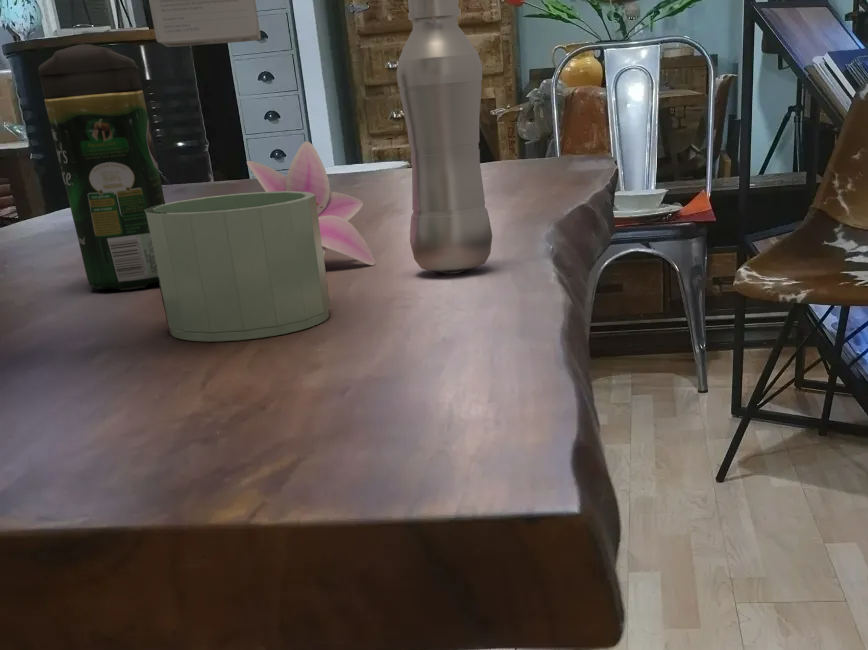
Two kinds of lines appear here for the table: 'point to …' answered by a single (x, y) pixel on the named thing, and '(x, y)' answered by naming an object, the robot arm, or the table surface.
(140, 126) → the coffee jar
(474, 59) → the plastic bottle
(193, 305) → the green flower pot
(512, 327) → the table surface
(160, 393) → the table surface
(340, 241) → the lily
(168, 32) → the white cardboard box
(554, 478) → the table surface
